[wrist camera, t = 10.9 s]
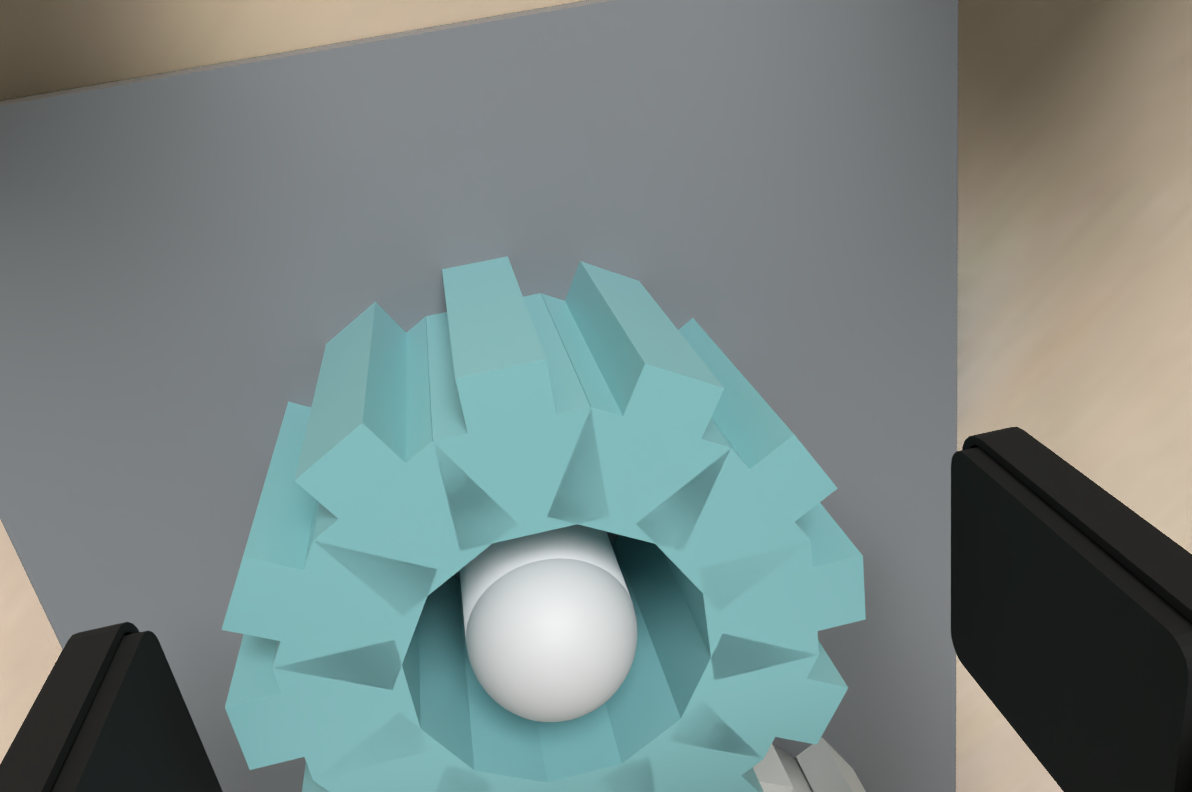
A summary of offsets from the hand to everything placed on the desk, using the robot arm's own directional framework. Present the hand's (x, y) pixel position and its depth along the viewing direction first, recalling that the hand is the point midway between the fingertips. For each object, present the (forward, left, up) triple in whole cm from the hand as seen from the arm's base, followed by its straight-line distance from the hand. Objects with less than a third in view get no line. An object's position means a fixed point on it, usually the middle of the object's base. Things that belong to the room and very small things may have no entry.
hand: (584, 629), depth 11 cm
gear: (0, 0, -4) cm, 4 cm away
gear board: (0, +5, -5) cm, 7 cm away
